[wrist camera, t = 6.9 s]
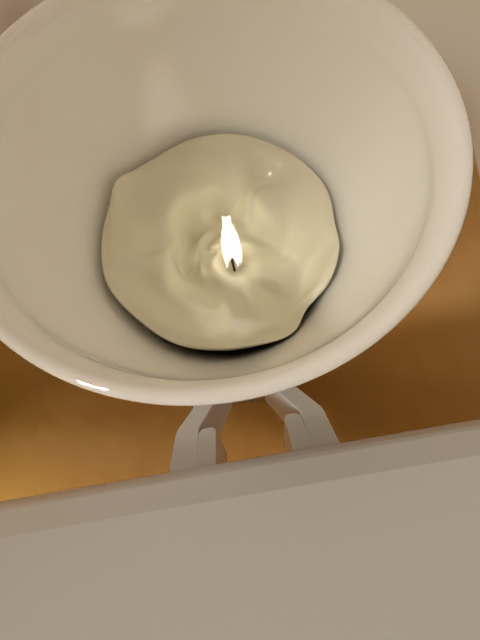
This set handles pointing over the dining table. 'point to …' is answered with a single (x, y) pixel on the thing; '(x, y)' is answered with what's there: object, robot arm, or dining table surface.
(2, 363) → the dining table surface
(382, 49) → the candle holder
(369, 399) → the dining table surface
